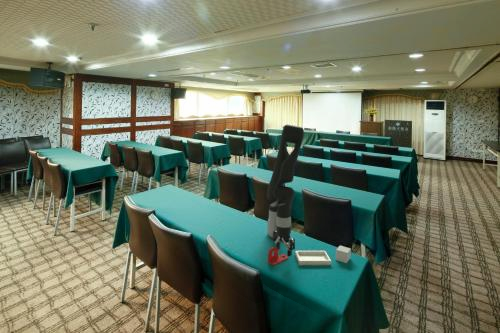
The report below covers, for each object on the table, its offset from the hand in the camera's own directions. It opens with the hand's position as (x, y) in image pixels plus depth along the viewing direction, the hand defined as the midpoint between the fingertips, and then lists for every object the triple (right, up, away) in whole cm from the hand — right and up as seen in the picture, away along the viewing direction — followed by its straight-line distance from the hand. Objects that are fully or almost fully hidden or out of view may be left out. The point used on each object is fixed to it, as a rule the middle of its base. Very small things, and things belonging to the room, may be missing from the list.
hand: (283, 252), depth 147 cm
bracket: (-3, -5, +1) cm, 6 cm away
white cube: (+32, -5, +4) cm, 33 cm away
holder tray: (+16, -4, +2) cm, 16 cm away
